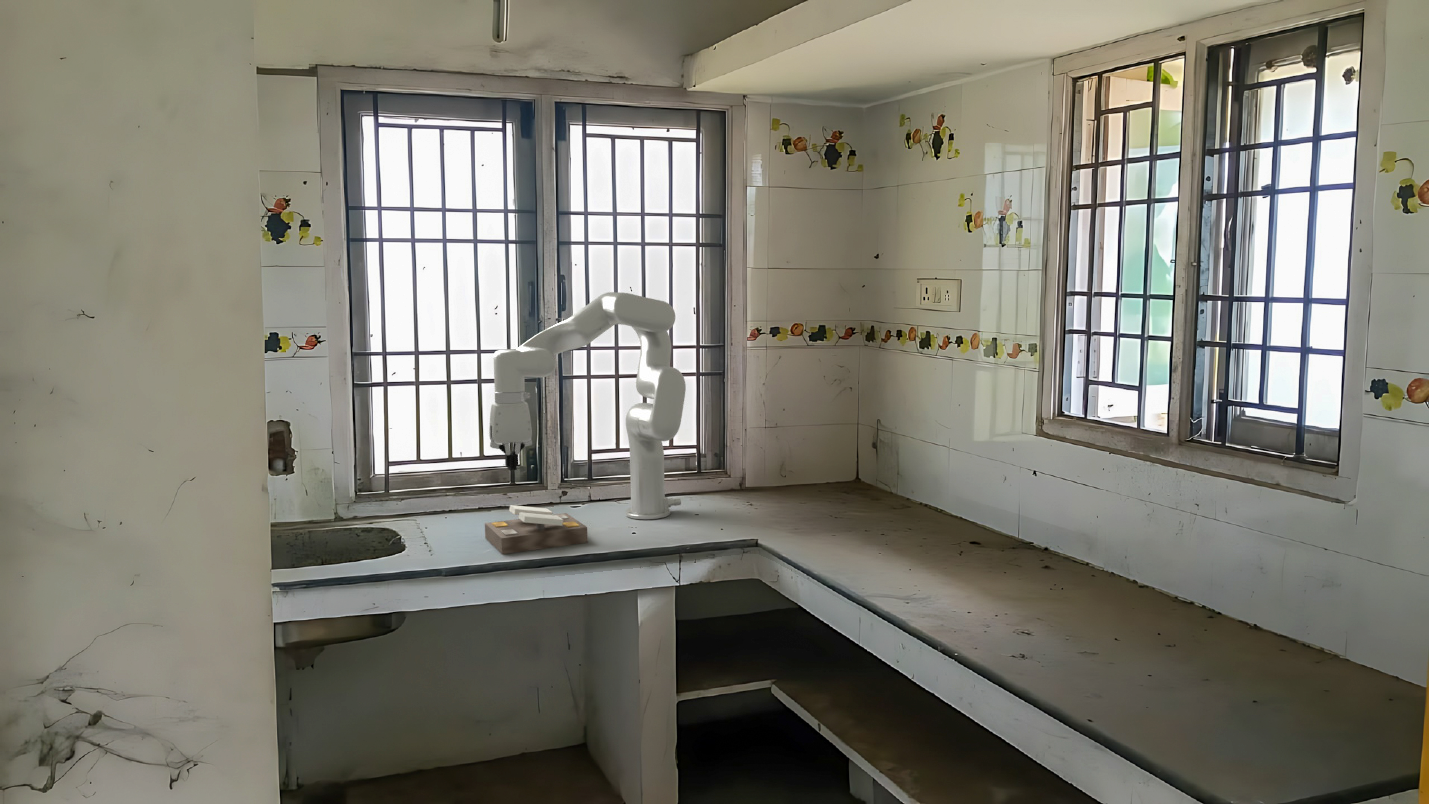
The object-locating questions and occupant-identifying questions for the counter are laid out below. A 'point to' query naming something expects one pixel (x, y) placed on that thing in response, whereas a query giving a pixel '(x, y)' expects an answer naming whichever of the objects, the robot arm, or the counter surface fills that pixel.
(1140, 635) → the counter surface
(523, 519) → the rocker near
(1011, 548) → the counter surface
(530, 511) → the rocker far
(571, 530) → the switch unit
